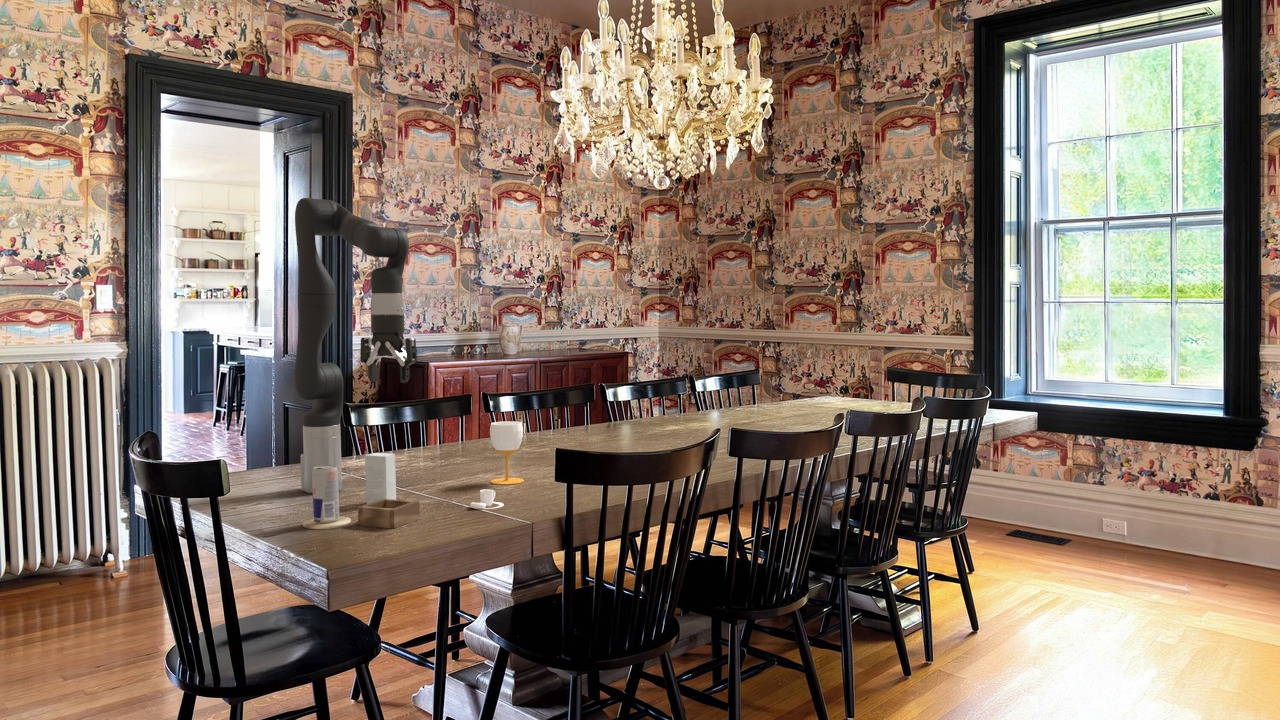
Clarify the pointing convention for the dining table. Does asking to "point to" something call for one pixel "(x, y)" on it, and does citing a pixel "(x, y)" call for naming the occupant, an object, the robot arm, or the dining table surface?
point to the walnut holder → (388, 513)
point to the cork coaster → (340, 523)
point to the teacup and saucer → (485, 500)
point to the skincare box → (380, 477)
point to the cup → (506, 445)
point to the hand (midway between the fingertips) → (389, 381)
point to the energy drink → (325, 494)
